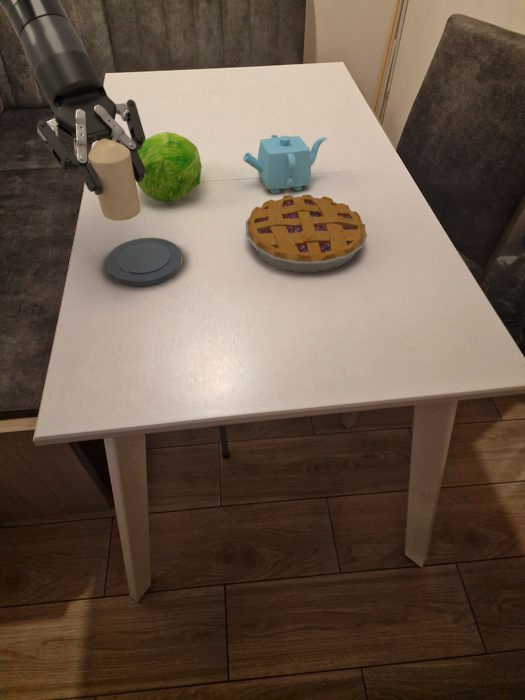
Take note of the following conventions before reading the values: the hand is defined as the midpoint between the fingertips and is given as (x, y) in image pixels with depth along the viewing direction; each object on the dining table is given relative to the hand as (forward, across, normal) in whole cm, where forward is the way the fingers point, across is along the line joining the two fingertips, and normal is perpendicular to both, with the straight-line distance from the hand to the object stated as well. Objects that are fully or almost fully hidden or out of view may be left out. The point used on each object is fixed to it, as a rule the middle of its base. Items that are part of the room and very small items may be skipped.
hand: (120, 185), depth 66 cm
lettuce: (-6, +21, +33) cm, 39 cm away
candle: (+2, 0, +5) cm, 5 cm away
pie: (+17, +30, +9) cm, 36 cm away
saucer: (+8, +4, +18) cm, 20 cm away
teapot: (+2, +42, +24) cm, 49 cm away
